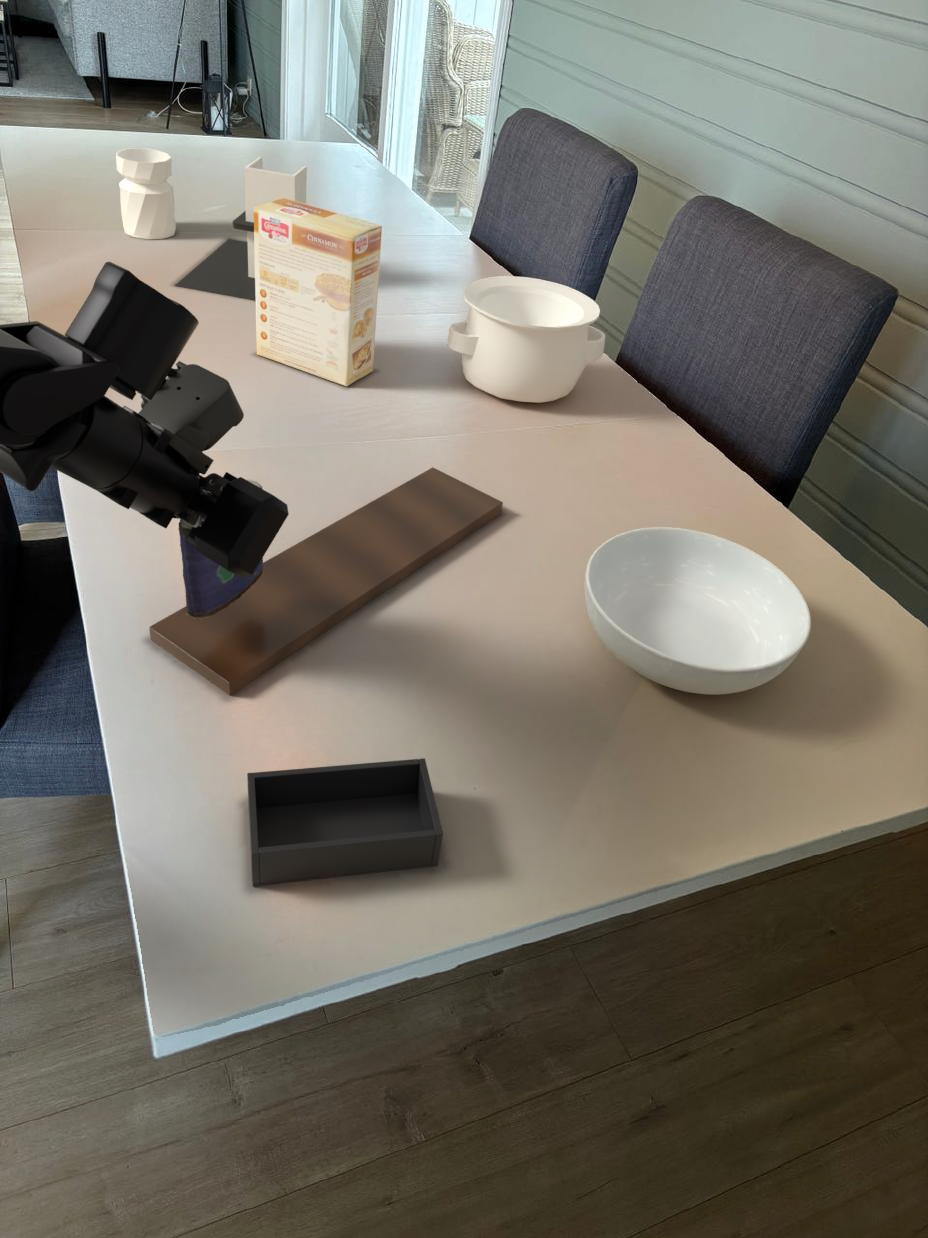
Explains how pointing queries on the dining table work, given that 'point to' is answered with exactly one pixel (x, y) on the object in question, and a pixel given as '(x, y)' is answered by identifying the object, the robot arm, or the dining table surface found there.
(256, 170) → the black and white stand
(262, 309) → the coffeecake box
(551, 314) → the pot
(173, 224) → the vase
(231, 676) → the board
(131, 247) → the dining table surface
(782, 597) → the serving bowl
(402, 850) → the open box
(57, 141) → the dining table surface
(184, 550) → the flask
